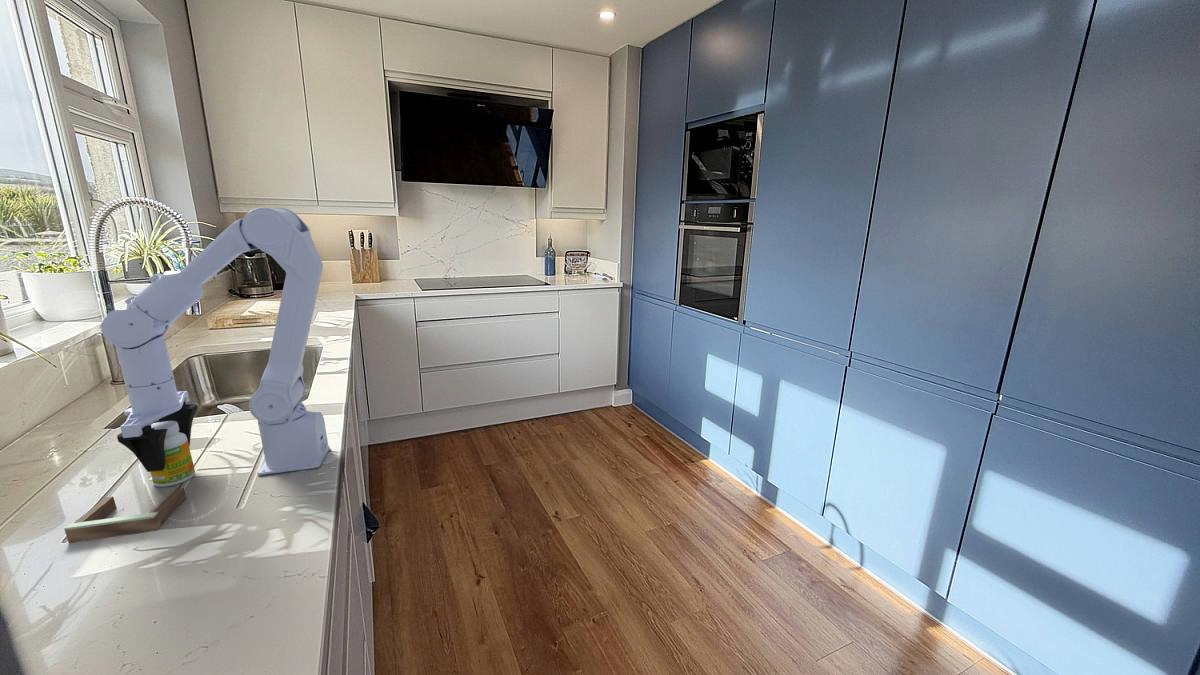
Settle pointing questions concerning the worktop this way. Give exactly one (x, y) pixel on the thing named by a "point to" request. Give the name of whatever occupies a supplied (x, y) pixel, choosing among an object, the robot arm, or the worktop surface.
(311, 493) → the worktop surface
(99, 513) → the dock
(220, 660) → the worktop surface
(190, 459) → the supplement bottle
